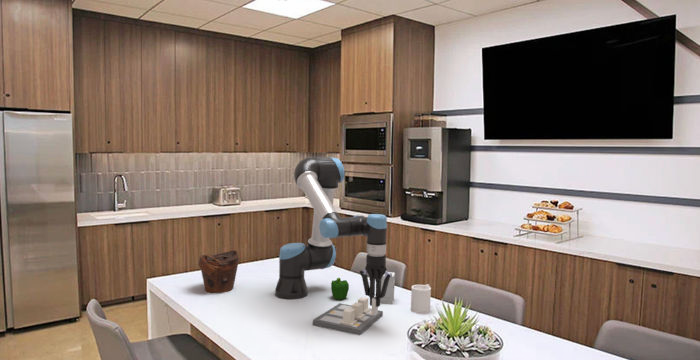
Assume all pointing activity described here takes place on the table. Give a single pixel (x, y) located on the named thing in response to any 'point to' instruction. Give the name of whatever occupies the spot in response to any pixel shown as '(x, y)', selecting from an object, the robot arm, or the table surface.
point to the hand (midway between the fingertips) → (374, 314)
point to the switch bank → (335, 316)
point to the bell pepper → (339, 289)
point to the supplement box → (388, 290)
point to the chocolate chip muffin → (219, 271)
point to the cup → (420, 298)
